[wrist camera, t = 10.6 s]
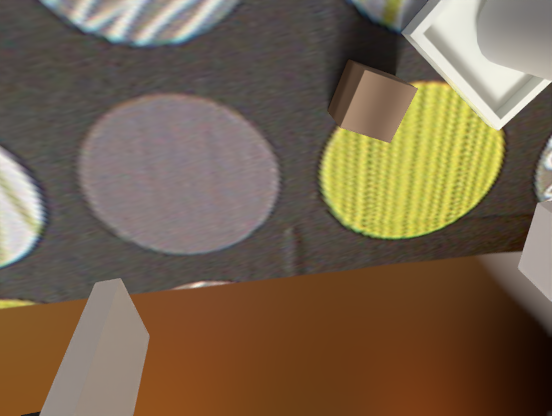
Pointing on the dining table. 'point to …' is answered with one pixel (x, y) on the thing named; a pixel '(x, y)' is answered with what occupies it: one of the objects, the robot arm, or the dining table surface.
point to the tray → (470, 60)
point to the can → (517, 35)
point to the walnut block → (370, 101)
